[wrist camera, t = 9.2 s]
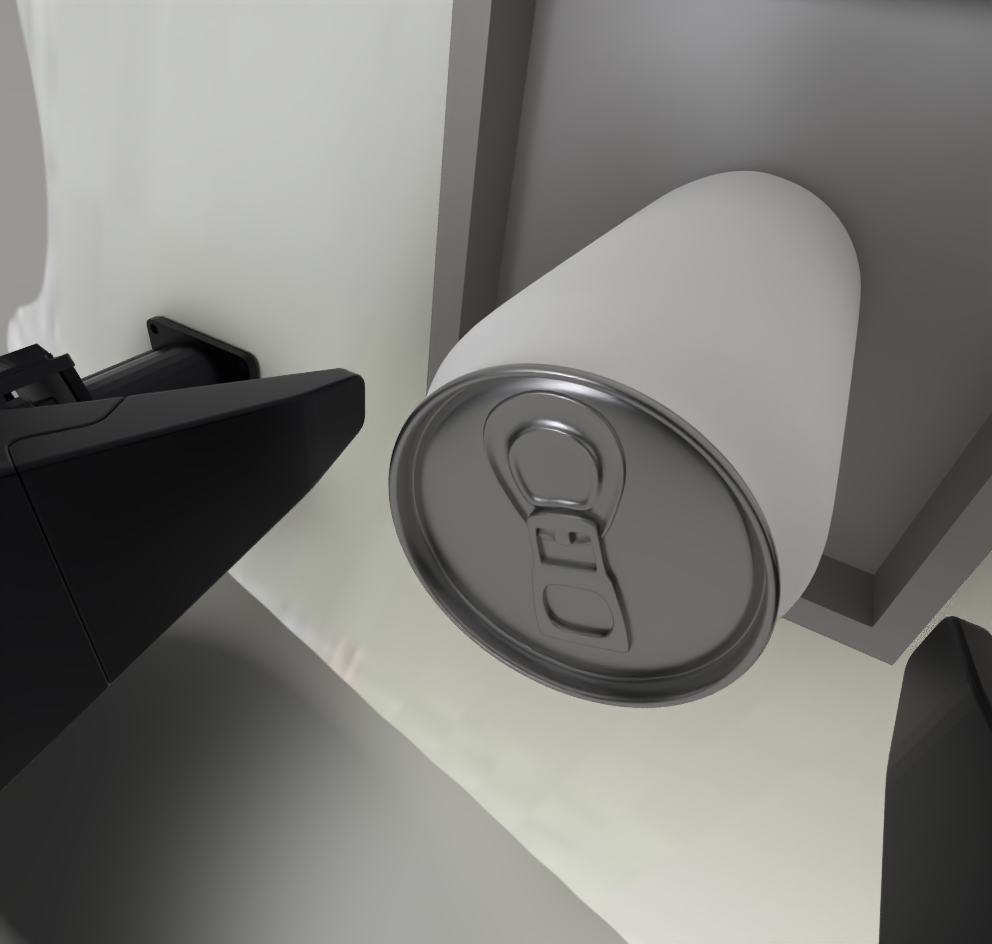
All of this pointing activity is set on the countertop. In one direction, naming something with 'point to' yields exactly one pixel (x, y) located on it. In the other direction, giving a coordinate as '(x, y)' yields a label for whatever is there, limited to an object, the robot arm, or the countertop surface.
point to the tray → (792, 156)
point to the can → (642, 446)
